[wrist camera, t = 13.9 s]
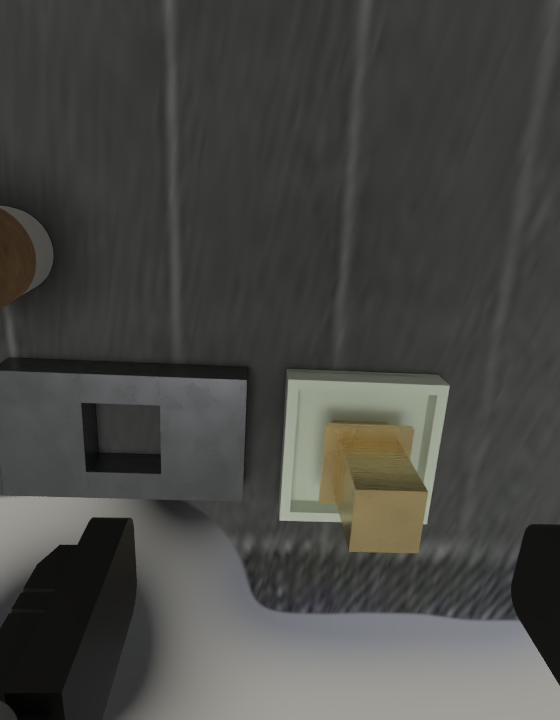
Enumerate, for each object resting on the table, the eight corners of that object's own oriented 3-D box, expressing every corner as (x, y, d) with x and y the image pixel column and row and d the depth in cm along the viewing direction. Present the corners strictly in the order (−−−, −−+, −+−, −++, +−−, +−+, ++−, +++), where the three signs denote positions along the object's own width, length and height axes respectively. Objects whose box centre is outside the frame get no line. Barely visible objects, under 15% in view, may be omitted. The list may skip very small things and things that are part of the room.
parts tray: (286, 368, 38) (288, 379, 36) (438, 374, 39) (449, 385, 37) (278, 502, 42) (279, 520, 40) (417, 506, 43) (426, 524, 40)
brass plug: (320, 407, 39) (340, 474, 29) (401, 410, 39) (447, 477, 30) (314, 480, 41) (331, 564, 31) (391, 482, 41) (431, 566, 31)
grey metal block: (9, 357, 37) (-12, 370, 35) (247, 367, 38) (246, 380, 35) (22, 474, 40) (4, 495, 38) (243, 480, 41) (242, 501, 38)
